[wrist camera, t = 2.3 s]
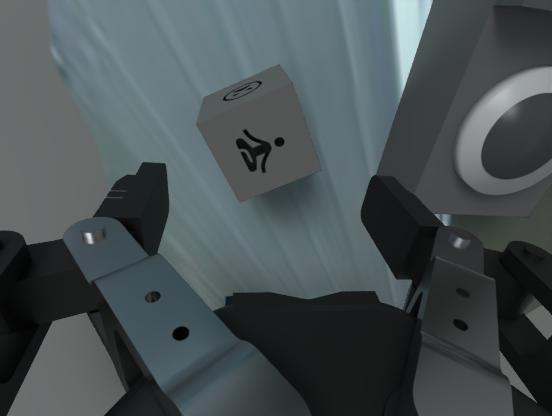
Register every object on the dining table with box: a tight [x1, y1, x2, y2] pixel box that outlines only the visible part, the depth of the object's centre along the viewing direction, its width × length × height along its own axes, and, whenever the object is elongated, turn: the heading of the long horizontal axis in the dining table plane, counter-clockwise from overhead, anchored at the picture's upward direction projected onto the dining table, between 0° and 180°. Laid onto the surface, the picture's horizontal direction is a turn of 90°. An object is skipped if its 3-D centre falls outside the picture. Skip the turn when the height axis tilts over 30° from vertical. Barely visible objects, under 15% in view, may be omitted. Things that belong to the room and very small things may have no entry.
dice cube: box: [196, 64, 322, 202], centre depth 18 cm, size 5×5×5 cm
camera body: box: [376, 0, 552, 217], centre depth 18 cm, size 14×9×7 cm, turn 173°
